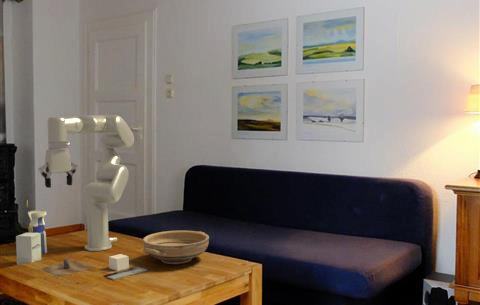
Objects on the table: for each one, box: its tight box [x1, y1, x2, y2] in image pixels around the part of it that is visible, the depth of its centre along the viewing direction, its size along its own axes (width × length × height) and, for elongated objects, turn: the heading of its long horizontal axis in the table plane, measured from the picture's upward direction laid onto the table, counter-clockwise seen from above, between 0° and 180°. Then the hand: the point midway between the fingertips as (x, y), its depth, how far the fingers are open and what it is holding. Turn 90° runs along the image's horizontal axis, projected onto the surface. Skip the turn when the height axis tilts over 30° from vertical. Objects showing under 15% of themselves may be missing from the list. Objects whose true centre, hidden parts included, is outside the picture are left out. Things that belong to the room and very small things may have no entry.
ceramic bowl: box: [142, 230, 210, 265], centre depth 221 cm, size 37×29×10 cm
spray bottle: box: [26, 199, 48, 255], centre depth 235 cm, size 8×9×25 cm
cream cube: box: [108, 253, 130, 273], centre depth 205 cm, size 6×6×6 cm
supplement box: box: [15, 232, 42, 266], centre depth 218 cm, size 7×7×13 cm
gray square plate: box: [103, 266, 148, 281], centre depth 205 cm, size 16×16×1 cm
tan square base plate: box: [39, 258, 96, 277], centre depth 205 cm, size 16×16×5 cm
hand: (59, 186), depth 216 cm, fingers open, 9 cm apart
